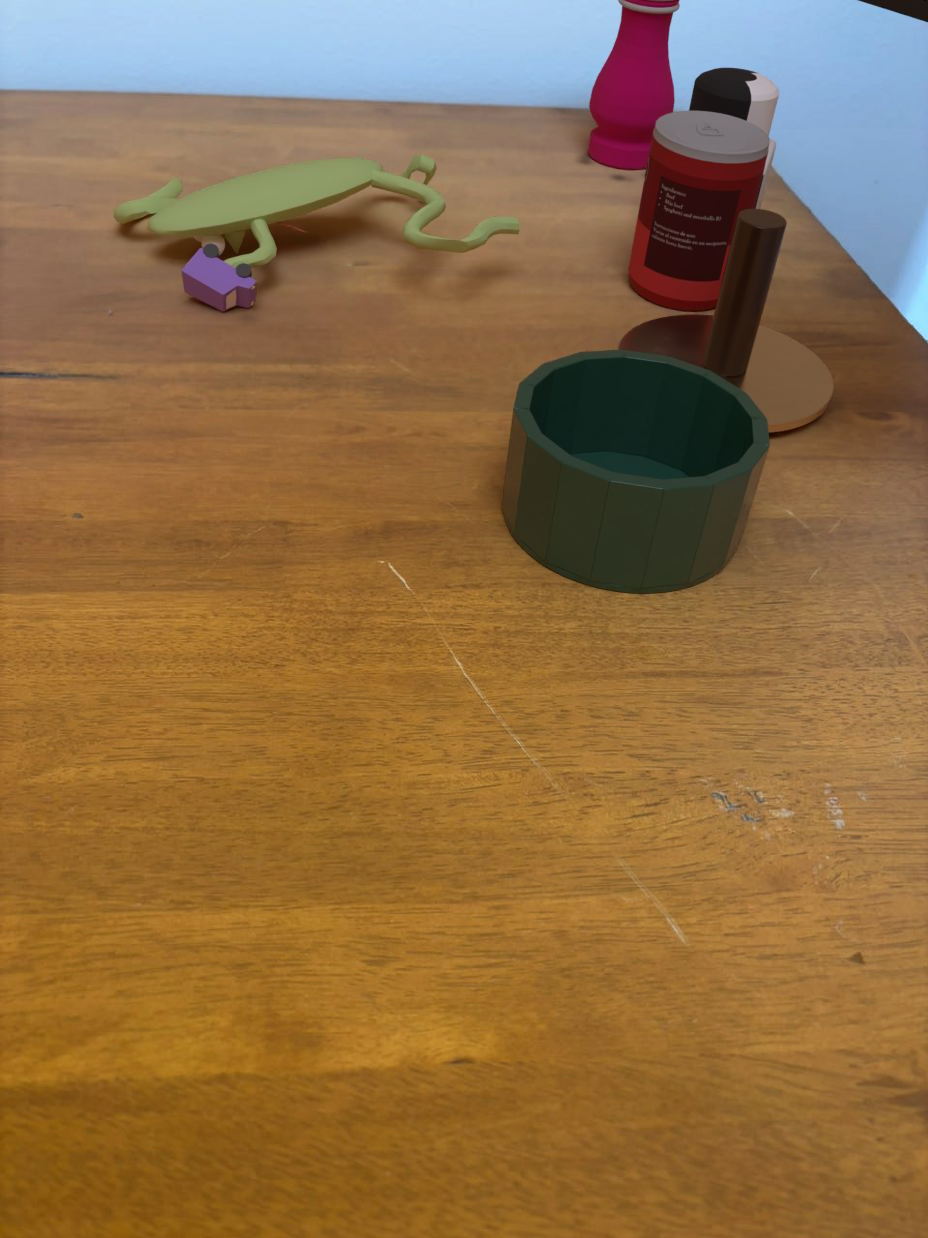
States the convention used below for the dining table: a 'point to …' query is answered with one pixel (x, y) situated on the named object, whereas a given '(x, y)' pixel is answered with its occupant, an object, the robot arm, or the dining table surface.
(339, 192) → the figurine
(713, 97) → the medicine bottle
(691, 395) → the tin
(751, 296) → the tin lid
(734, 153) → the canned food
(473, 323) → the dining table surface
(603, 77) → the pepper mill
